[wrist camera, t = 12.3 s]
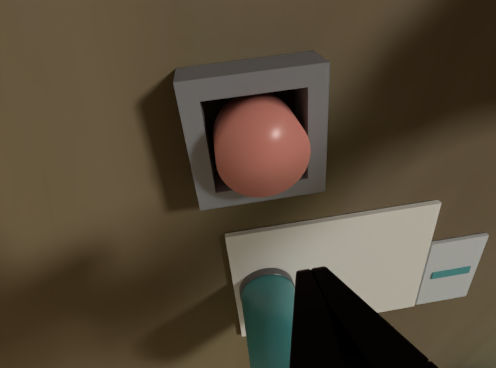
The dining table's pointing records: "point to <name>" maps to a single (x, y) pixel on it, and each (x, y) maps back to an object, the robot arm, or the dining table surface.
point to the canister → (268, 316)
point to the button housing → (249, 83)
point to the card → (450, 267)
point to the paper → (345, 252)
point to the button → (259, 145)
